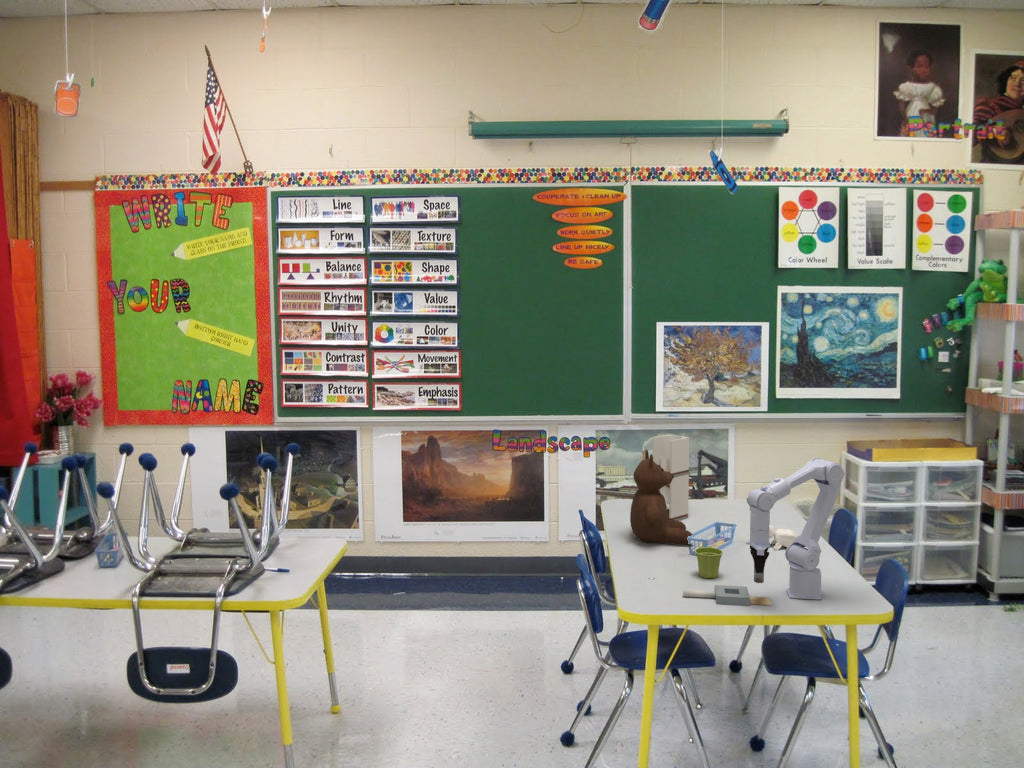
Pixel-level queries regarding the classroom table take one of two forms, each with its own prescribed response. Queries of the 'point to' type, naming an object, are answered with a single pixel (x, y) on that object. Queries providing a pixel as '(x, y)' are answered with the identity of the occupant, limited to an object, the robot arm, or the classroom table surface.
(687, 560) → the classroom table surface
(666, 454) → the white banded box
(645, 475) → the stuffed bear
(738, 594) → the block
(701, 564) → the plant pot
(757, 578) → the shiny metal cylinder
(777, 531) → the white animal figurine
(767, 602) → the pad
